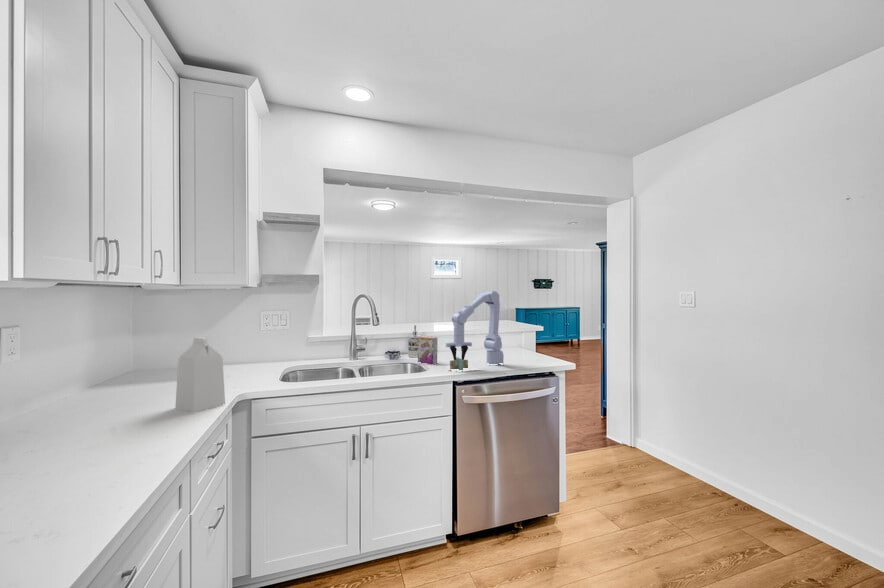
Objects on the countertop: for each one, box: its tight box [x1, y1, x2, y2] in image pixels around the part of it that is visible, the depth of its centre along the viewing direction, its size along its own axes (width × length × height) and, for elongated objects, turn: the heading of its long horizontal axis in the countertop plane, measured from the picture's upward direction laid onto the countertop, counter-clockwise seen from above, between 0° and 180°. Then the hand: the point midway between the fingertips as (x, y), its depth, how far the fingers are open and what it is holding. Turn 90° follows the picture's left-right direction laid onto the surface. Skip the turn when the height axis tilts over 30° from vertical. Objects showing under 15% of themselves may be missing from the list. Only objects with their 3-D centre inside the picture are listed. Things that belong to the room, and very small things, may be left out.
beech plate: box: [449, 359, 469, 369], centre depth 206 cm, size 10×2×5 cm, turn 107°
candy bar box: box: [417, 335, 438, 365], centre depth 224 cm, size 11×5×16 cm, turn 58°
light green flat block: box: [456, 356, 465, 370], centre depth 206 cm, size 2×10×6 cm, turn 17°
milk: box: [174, 337, 226, 414], centre depth 142 cm, size 12×12×26 cm
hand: (458, 359), depth 206 cm, fingers open, 4 cm apart
